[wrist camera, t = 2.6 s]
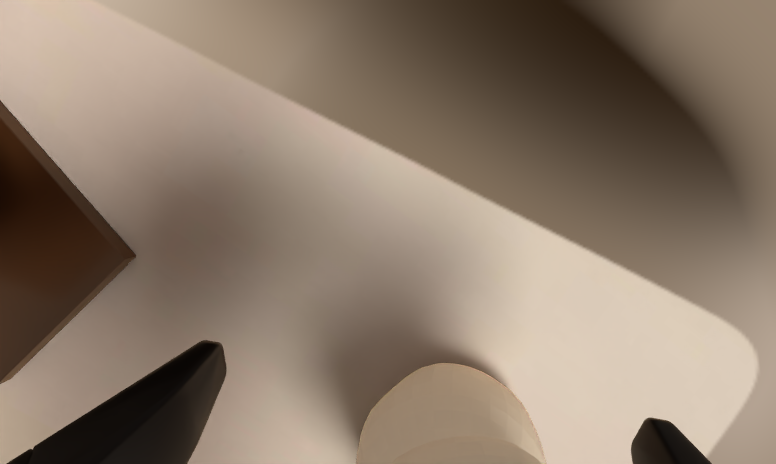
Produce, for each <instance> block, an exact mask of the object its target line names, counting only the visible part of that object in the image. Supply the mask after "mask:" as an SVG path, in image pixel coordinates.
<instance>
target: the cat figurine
mask: <svg viewBox="0 0 776 464" xmlns="http://www.w3.org/2000/svg"><path fill="white" fill-rule="evenodd" d="M356 464H546V460H545V456H544V452H543V448H542V445H541V442H540V439H539V437H538V434H537V431H536V429H535V427H534V425H533V422H532V420H531V418H530V416H529V414H528V412H527V411H526V409H525V407H524V406H523V404H522V403H521V401H520V400H519V399H518V398H517V397H516V396H515V395H514V394H513V393H512V392H511V390H509V389H508V388H507V387H505V386H504V385H502V384H501V383H500V382H498V381H497V380H496V379H494V378H493V377H491V376H489V375H487V374H486V373H484V372H482V371H480V370H477V369H474V368H472V367H469V366H464V365H460V364H454V363H438V364H434V365H430V366H425V367H421V368H420V369H418V370H416V371H415V372H413V373H411V374H410V375H408V376H406V377H405V378H404V379H403V380H401V381H400V382H399V383H398V384H397V385H396V386H395V387H394V388H392V389H391V390H390V391H389V392H388V393H387V394H385V395H384V396H383V397H382V398H381V399H380V400H379V402H378V403H377V404H376V405H375V406H374V407H373V408H372V410H371V411H370V413H369V415H368V417H367V420H366V422H365V424H364V426H363V429H362V432H361V436H360V441H359V446H358V452H357V461H356Z"/></svg>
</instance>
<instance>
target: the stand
mask: <svg viewBox="0 0 776 464" xmlns="http://www.w3.org/2000/svg"><path fill="white" fill-rule="evenodd" d="M135 257H136V255H135V254H134V253H133V252H132V251H131V250H130V249H129V247H128V246H127V245H126V244H125V243H124V242H123V241H122V239H121V238H120V237H119V236H118V235H117V234H116V233H115V231H114V230H113V229H112V228H111V227H110V226H109V225H108V224H107V222H106V221H105V220H104V219H103V218H102V217H101V216H100V214H99V213H98V212H97V211H96V210H95V209H94V208H93V206H92V205H91V204H90V203H89V202H88V201H87V200H86V198H85V197H84V196H83V195H82V194H81V193H80V192H79V191H78V189H77V188H76V187H75V186H74V185H73V184H72V183H71V181H70V180H69V179H68V178H67V177H66V176H65V175H64V173H63V172H62V171H61V170H60V169H59V168H58V167H57V165H56V164H55V163H54V162H53V161H52V160H51V159H50V157H49V156H48V155H47V154H46V153H45V152H44V151H43V150H42V148H41V147H40V146H39V145H38V144H37V143H36V142H35V140H34V139H33V138H32V137H31V136H30V135H29V134H28V132H27V131H26V130H25V129H24V128H23V127H22V126H21V124H20V123H19V122H18V121H17V120H16V119H15V118H14V117H13V115H12V114H11V113H10V112H9V111H8V110H7V109H6V107H5V106H4V105H3V104H2V103H1V102H0V384H1V383H3V382H5V381H7V380H9V379H11V378H12V377H13V376H14V375H15V374H16V373H17V372H18V371H19V370H20V369H21V368H22V367H23V366H24V365H25V364H26V363H27V362H28V361H29V360H30V359H31V358H32V357H33V356H34V355H36V354H37V353H38V352H39V351H40V350H41V349H42V348H43V347H44V346H45V345H46V344H47V343H48V342H49V341H50V340H51V339H52V338H53V337H54V336H55V335H56V334H57V333H58V332H59V331H60V330H61V329H62V328H63V327H64V326H65V325H66V324H67V323H68V322H69V321H70V320H71V319H72V318H73V317H74V316H76V315H77V314H78V313H79V312H80V311H81V310H82V309H83V308H84V307H85V306H86V305H87V304H88V303H89V302H90V301H91V300H92V299H93V298H94V297H95V296H96V295H97V294H98V293H99V292H100V291H101V290H102V289H103V288H104V287H105V286H106V285H107V284H108V283H109V282H110V281H111V280H112V279H113V278H114V277H116V276H117V275H118V274H119V273H120V272H121V271H122V270H123V269H124V268H125V267H126V266H127V265H128V264H129V263H130V262H131V261H132V260H133V259H134V258H135Z"/></svg>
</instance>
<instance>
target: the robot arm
mask: <svg viewBox="0 0 776 464" xmlns="http://www.w3.org/2000/svg"><path fill="white" fill-rule="evenodd" d="M225 376H226V362H225V356H224V350H223V346H222V344H221V343H219V342H214V341H208V340H203V341H201V342H199V343H197V344H196V345H194V346H192V347H191V348H189V349H188V350H186V351H185V352H183V353H181V354H180V355H178V356H177V357H175V358H173V359H172V360H170V361H169V362H167V363H166V364H164V365H162V366H161V367H159V368H158V369H156V370H154V371H153V372H151V373H150V374H148V375H147V376H145V377H143V378H142V379H140V380H139V381H137V382H135V383H134V384H132V385H131V386H129V387H128V388H126V389H124V390H123V391H121V392H120V393H118V394H116V395H115V396H113V397H112V398H110V399H109V400H107V401H105V402H104V403H102V404H101V405H99V406H97V407H96V408H94V409H93V410H91V411H90V412H88V413H86V414H85V415H83V416H82V417H80V418H78V419H77V420H75V421H74V422H72V423H71V424H69V425H67V426H66V427H64V428H63V429H61V430H59V431H58V432H56V433H55V434H53V435H52V436H50V437H48V438H47V439H45V440H44V441H42V442H40V443H39V444H37V445H36V446H35V447H34V448H33V450H32V449H29V450H28V451H26V452H24V453H23V454H21V455H20V456H18V457H16V458H15V459H13V460H12V461H10V462H9V463H7V464H187V463H188V461H189V459H190V457H191V455H192V453H193V451H194V449H195V448H196V446H197V444H198V441H199V439H200V437H201V435H202V432H203V430H204V427H205V425H206V423H207V420H208V418H209V415H210V413H211V411H212V408H213V406H214V404H215V401H216V399H217V396H218V394H219V392H220V389H221V387H222V384H223V382H224V379H225ZM631 454H632V461H633V464H711V462H710V461H708V459H707V458H706V457H705V456H704V455H703V454H702V453H701V452H700V451H699V450H698V449H697V448H696V447H695V446H694V445H693V444H692V443H691V442H690V441H689V440H688V439H687V438H686V437H685V436H684V435H683V434H682V433H681V432H680V431H679V430H678V428H677V427H676V426H675V425H673V424H672V423H671V422H669V421H667V420H662V419H656V418H647V419H645V421H644V422H643V424H642V426H641V427H640V429H639V431H638V433H637V435H636V436H635V438H634V440H633V442H632V446H631Z"/></svg>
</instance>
